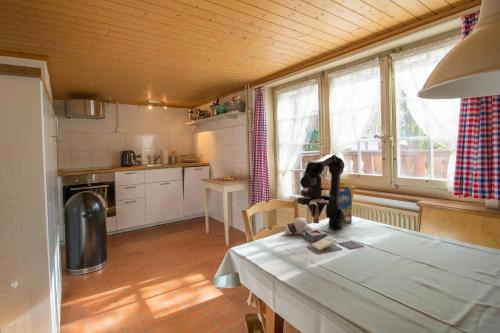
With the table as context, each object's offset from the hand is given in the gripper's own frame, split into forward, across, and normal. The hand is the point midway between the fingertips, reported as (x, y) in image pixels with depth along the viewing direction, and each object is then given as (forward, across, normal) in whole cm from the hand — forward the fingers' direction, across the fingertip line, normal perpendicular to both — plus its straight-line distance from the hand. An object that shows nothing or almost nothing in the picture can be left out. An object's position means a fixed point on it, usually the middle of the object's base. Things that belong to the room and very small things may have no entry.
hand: (316, 216), depth 131 cm
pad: (+12, -11, +13) cm, 21 cm away
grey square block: (+12, 0, 0) cm, 12 cm away
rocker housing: (+12, +3, +11) cm, 17 cm away
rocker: (+10, +3, +11) cm, 15 cm away
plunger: (+11, 0, 0) cm, 11 cm away
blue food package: (+12, -31, -19) cm, 38 cm away
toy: (+12, +4, -11) cm, 17 cm away
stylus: (+3, 0, 0) cm, 3 cm away
